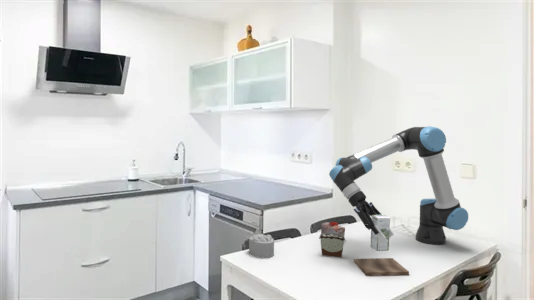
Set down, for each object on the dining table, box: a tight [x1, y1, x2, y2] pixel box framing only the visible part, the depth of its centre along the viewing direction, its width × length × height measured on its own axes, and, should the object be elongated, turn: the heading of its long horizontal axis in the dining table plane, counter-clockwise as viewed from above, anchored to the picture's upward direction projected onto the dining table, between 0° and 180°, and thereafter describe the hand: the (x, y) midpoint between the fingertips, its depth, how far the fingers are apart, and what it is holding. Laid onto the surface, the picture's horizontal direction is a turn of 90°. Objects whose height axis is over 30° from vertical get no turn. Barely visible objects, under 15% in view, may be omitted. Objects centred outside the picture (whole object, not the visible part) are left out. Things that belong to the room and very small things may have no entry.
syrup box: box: [370, 214, 391, 252], centre depth 155 cm, size 6×6×14 cm
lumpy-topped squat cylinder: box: [248, 233, 275, 259], centre depth 173 cm, size 10×13×9 cm
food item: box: [320, 221, 346, 236], centre depth 196 cm, size 14×8×10 cm, turn 34°
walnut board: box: [353, 257, 410, 277], centre depth 156 cm, size 18×16×2 cm
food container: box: [318, 233, 346, 259], centre depth 172 cm, size 12×6×10 cm, turn 71°
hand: (387, 238), depth 153 cm, fingers closed on syrup box, 8 cm apart
